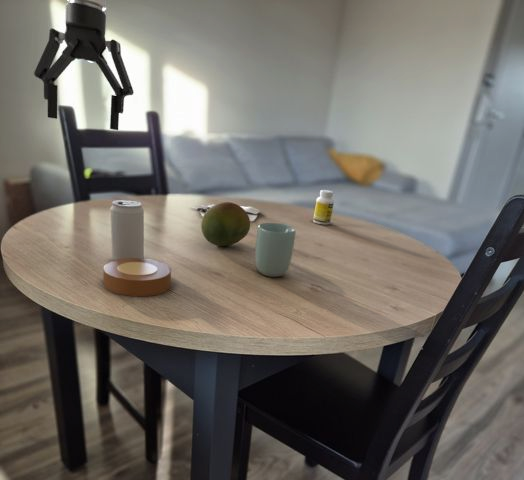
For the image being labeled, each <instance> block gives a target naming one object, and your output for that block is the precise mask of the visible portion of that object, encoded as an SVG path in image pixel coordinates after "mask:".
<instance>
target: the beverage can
mask: <svg viewBox="0 0 524 480" xmlns="http://www.w3.org/2000/svg"><path fill="white" fill-rule="evenodd" d="M111 204H112V205H111V207H110V208H109V209H110V234H111V235H110V236H111V258H112V259H113V261H115V260H121V259H145V228H144V227H145V224H144V223H145V215H144V214H145V212H144V208H143V207H142V205H143V204H142V202H139V201H136V200H132V199H131V200H130V199H116V200H113V201H111Z"/></svg>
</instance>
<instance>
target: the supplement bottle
mask: <svg viewBox="0 0 524 480" xmlns="http://www.w3.org/2000/svg"><path fill="white" fill-rule="evenodd" d="M319 195H320V196H318V197H317V198H316V202H315V207H314V214H313V219H312V220H313V223H314V224H318V225H322V226H324V225H325V226H327V225H330V224H331V222H332V221H331V220H332V215H333V209H334V203H335V202H334V199H333V196H334V191H332V190H328V189H321V190H320V191H319Z"/></svg>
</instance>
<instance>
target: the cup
mask: <svg viewBox="0 0 524 480" xmlns="http://www.w3.org/2000/svg"><path fill="white" fill-rule="evenodd" d="M295 240H296V229H295V228H294V227H293V226H290V225H288V224H285V223H277V222H263V223H259V224H258V225H257V230H256V239H255V252H254V258H255V259H254V261H255V266H256V269H257V271H258V272H259V274H262V275H263V276H265V277H270V278H278V277H282V276H284V275H286V273H287V272H288V270H289V269H290V266H291V263H292V260H293V254H294V247H295Z"/></svg>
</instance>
